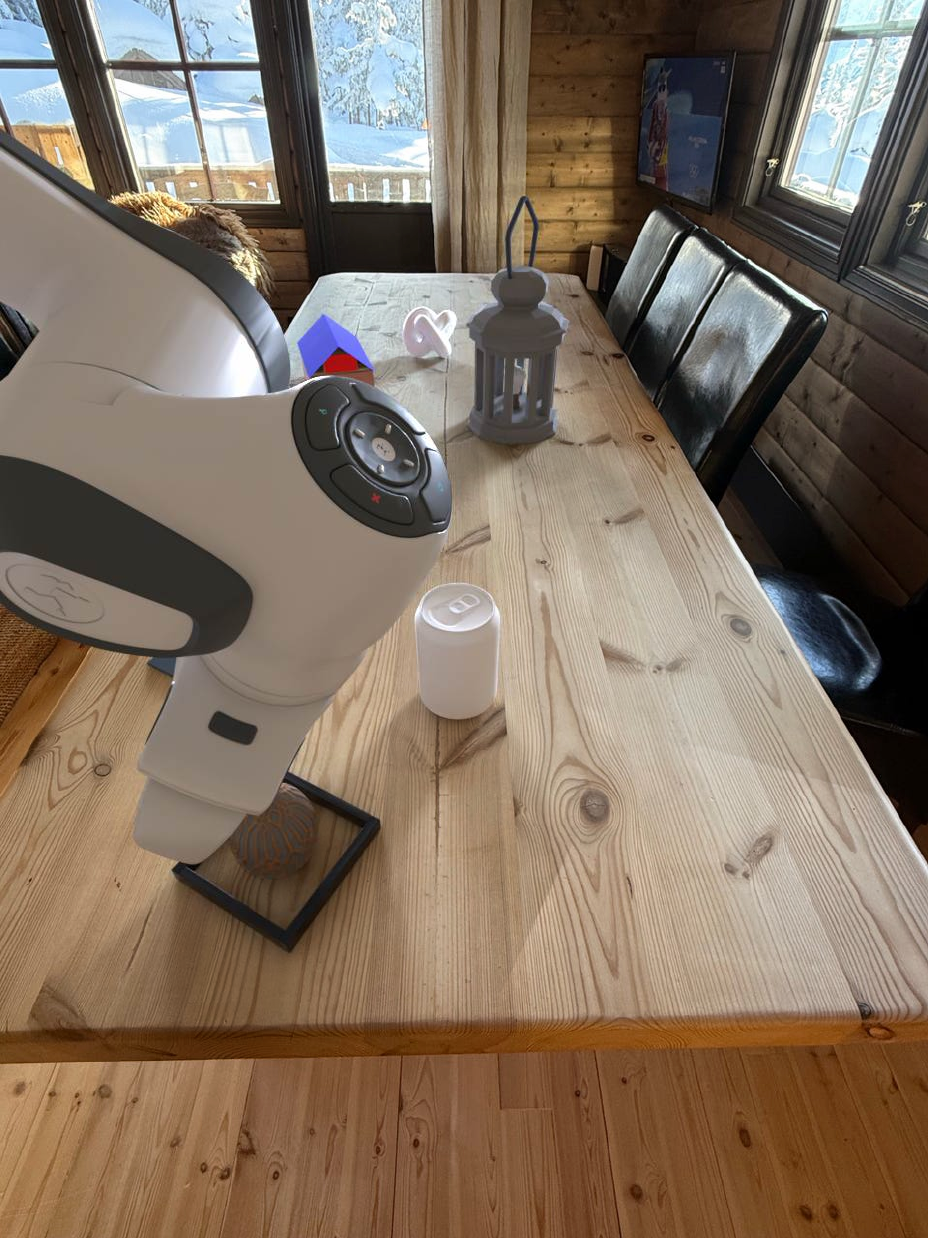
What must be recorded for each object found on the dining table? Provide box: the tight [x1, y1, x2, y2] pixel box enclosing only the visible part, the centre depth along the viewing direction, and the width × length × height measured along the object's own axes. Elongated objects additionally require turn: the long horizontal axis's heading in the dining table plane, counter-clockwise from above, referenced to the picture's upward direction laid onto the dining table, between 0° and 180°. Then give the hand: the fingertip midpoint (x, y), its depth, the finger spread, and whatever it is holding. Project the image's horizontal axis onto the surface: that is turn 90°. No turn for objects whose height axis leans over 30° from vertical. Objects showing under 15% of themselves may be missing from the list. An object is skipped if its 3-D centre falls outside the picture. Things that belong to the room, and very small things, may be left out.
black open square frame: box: [171, 771, 382, 954], centre depth 55 cm, size 12×12×2 cm
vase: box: [227, 783, 319, 880], centre depth 53 cm, size 7×7×9 cm
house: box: [296, 313, 376, 387], centre depth 127 cm, size 12×20×12 cm, turn 17°
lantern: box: [465, 195, 570, 446], centre depth 107 cm, size 17×17×35 cm
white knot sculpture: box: [402, 306, 457, 359], centre depth 142 cm, size 11×12×9 cm
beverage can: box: [414, 582, 501, 720], centre depth 65 cm, size 8×8×12 cm
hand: (221, 731), depth 46 cm, fingers open, 8 cm apart
